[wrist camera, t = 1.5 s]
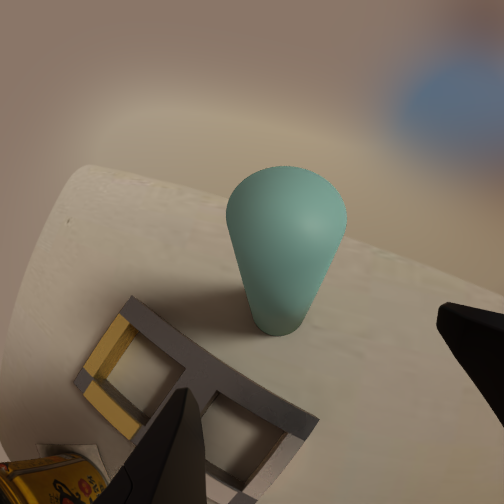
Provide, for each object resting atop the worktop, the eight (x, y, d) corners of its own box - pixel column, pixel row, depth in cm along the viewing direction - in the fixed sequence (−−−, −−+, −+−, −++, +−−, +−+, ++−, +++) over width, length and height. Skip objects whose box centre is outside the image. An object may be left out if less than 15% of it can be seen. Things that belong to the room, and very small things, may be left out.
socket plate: (246, 504, 14) (243, 517, 12) (87, 383, 19) (71, 382, 17) (315, 415, 17) (320, 420, 15) (142, 302, 22) (130, 293, 20)
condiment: (127, 515, 13) (42, 566, 2) (61, 506, 12) (-23, 529, 2) (97, 443, 16) (-12, 458, 6) (37, 443, 16) (-57, 442, 5)
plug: (287, 346, 20) (312, 291, 8) (241, 318, 21) (202, 229, 9) (314, 300, 21) (363, 196, 9) (269, 275, 22) (266, 152, 10)
